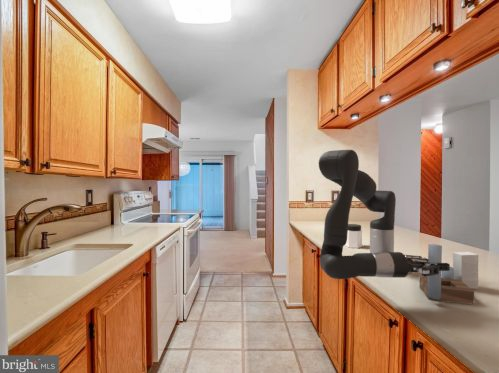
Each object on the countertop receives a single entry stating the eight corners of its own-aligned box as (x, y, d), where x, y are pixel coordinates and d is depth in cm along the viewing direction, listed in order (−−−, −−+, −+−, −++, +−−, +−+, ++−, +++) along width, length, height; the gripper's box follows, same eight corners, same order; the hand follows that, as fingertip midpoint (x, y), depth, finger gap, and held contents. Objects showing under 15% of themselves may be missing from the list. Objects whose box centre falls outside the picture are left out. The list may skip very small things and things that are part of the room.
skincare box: (468, 284, 99) (468, 251, 98) (478, 288, 95) (479, 254, 94) (451, 284, 99) (452, 251, 98) (461, 289, 94) (462, 255, 94)
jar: (351, 243, 159) (351, 223, 159) (364, 246, 153) (364, 225, 153) (342, 246, 154) (342, 225, 154) (355, 249, 148) (355, 227, 147)
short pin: (440, 284, 99) (440, 265, 98) (451, 285, 98) (451, 266, 97) (443, 288, 95) (444, 268, 95) (455, 289, 94) (455, 269, 94)
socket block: (419, 287, 96) (419, 276, 96) (459, 291, 93) (459, 279, 93) (428, 299, 87) (428, 287, 87) (473, 304, 83) (474, 291, 83)
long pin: (426, 293, 86) (426, 243, 86) (438, 294, 85) (439, 244, 84) (429, 298, 83) (430, 246, 82) (442, 299, 82) (443, 247, 81)
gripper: (398, 259, 77) (461, 259, 76) (377, 246, 91) (430, 246, 90) (398, 285, 77) (461, 286, 77) (377, 268, 91) (429, 268, 91)
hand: (444, 264), depth 84 cm, fingers closed on long pin, 3 cm apart
